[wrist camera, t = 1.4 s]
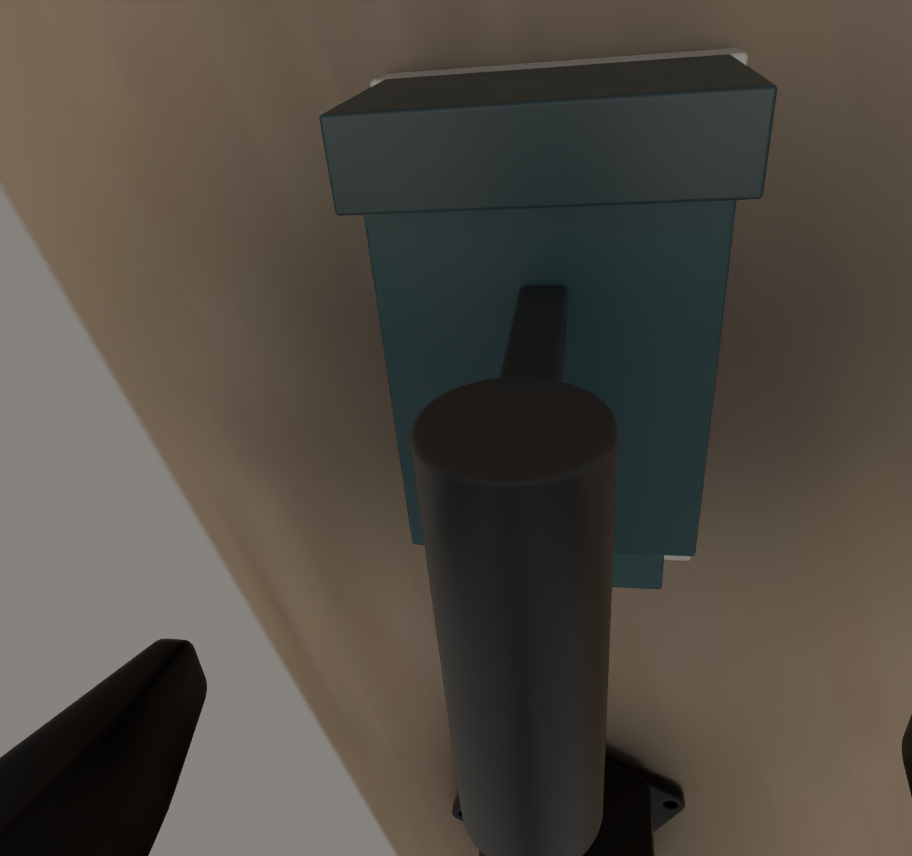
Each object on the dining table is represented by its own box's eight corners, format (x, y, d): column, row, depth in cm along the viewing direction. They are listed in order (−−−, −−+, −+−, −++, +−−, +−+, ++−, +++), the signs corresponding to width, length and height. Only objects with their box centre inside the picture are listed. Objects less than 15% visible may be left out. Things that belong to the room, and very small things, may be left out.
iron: (686, 537, 20) (759, 990, 11) (437, 527, 21) (324, 927, 12) (739, 46, 14) (999, 199, 5) (380, 73, 15) (73, 233, 6)
